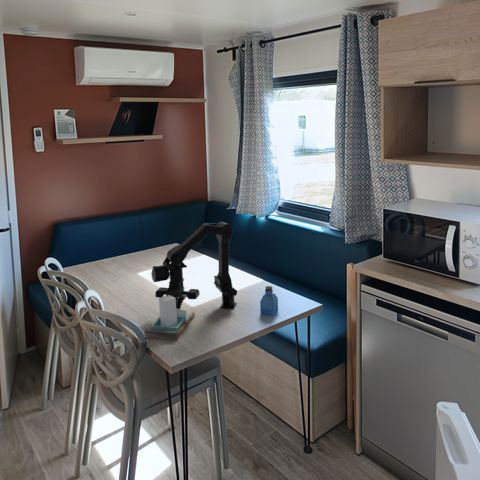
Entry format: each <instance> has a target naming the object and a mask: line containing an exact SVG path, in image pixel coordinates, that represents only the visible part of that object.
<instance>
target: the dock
mask: <svg viewBox="0 0 480 480" xmlns="http://www.w3.org/2000/svg"><path fill="white" fill-rule="evenodd" d="M188 316H189V317H188V319H187V320H186V321H185V323H184V324H183V325H182V326H181V328H180V329H179V330H178V331H163V330H152V327H151V326H150V327H149V328H147V329H145V330H144V337H145V336H146V338H145V339H156V340H168V341H169V340H171V341H172V340H173V341H178V340H179V339H180V337H181V336H182V335H183V333H184V332H185V331H186V329H187V328H188V327H189V326H190V324H191V323H192V321H193V320H194V318H195V317H196V315H195V312H194V311H192V312H191V313H190V314H189V315H188ZM156 321H157V319H156V320H155V321H154V323H155V322H156Z"/></svg>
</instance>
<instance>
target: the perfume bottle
mask: <svg viewBox="0 0 480 480" xmlns="http://www.w3.org/2000/svg"><path fill="white" fill-rule="evenodd" d="M264 288H265V289H264V294H263V295H262V297H261V299H260V301H259V302H260V303H259V305H260V307H259V309H260V310H259V311H260V315H261V314H262V316H269V315H270V317H274V316H275V315H276V314H277V313H278V312H279V299H278V298H279V297H278V296H277V295H276V293H274V289H273V286H271V285H268V286H265V287H264ZM277 311H278V312H277Z"/></svg>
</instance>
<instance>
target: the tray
mask: <svg viewBox="0 0 480 480" xmlns="http://www.w3.org/2000/svg"><path fill="white" fill-rule="evenodd" d="M176 312H177V326H176V327H166V326H161V320H160V316H159V317H158V318H157V319H156V320H157V321H156V320H155V321H156V322H155V321H154V322H153V324H152V325H151V326H150V327H152V330H163V331H178V330H179V329H180V328H181V326H182V325H183V324H184V323H185V321H186V320H187V319H188V317H189V316H190V315H187V313H188V311H187V309H186V308H181V309H176Z"/></svg>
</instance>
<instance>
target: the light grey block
mask: <svg viewBox="0 0 480 480" xmlns="http://www.w3.org/2000/svg"><path fill="white" fill-rule="evenodd" d="M158 305H159V317H160V320H161V326H166V327H176V326H177V312H176V298H174V297H172V296H170V295H167V296H166V295H165V296H163V297H161V298H159V297H158Z"/></svg>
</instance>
